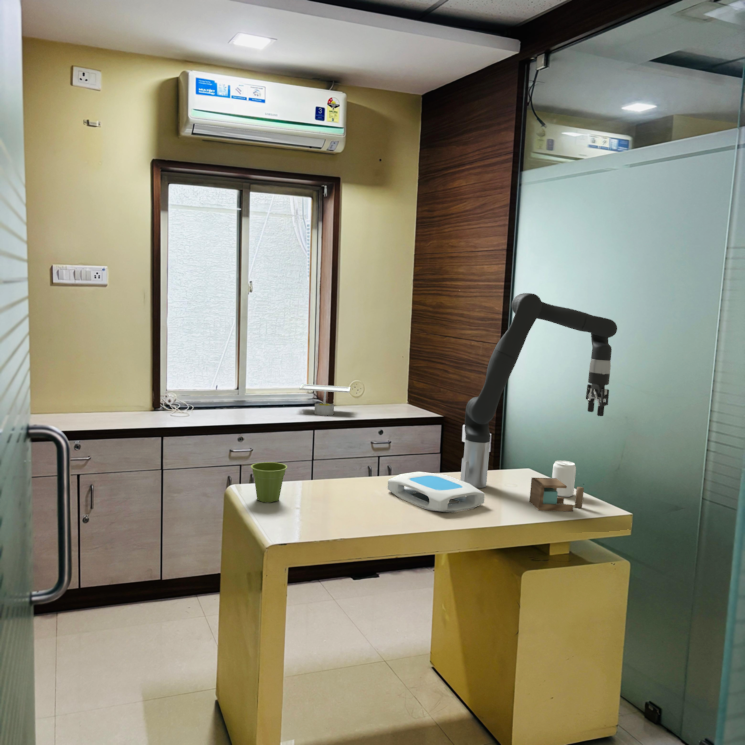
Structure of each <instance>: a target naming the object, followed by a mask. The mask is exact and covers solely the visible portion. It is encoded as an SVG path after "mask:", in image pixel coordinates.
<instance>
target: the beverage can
mask: <svg viewBox="0 0 745 745" xmlns="http://www.w3.org/2000/svg"><path fill="white" fill-rule="evenodd" d="M576 472H577V467H576V464H575V462H573V461H569V460H555V461H554V463H553V466H552V474H551V478H557V479H558V480H559V481H561V482H562V483H563V484H565V485H566V486H567V488H557V492H558V495H557V497H563V498H570V497H572V496H574V492H575V483H576V482H575V481H576Z"/></svg>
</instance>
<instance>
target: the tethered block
mask: <svg viewBox="0 0 745 745" xmlns="http://www.w3.org/2000/svg"><path fill="white" fill-rule="evenodd" d="M584 491H585V488H584V487H582V486H576V491H575V492H576V493H575V501H574V504H572V505H573V508H575V509H582V508H583V501H584ZM557 495H558V492H557V491H556V490H555V489H553V488H544V496H543V504H557V497H558V496H557Z"/></svg>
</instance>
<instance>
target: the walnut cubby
mask: <svg viewBox="0 0 745 745" xmlns="http://www.w3.org/2000/svg"><path fill="white" fill-rule="evenodd" d="M530 482H531V483H530V492H529V503H530V504H531V505H532V506H534V508H535V509H536V510H538V511H545V512H549V511H550V512H551V511H552V512H574V511H573V510H574V507H573V505H574V504H566V503H565V504H564V502H565V497H560V496H557V504H543V496H544V488H553V489H555V490H556V491H557V488H567V486H566V485H565V484H563V483H562V482H561V481H559V480H558V479H557V478H552V477H551V478H550V477H531V480H530Z"/></svg>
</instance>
